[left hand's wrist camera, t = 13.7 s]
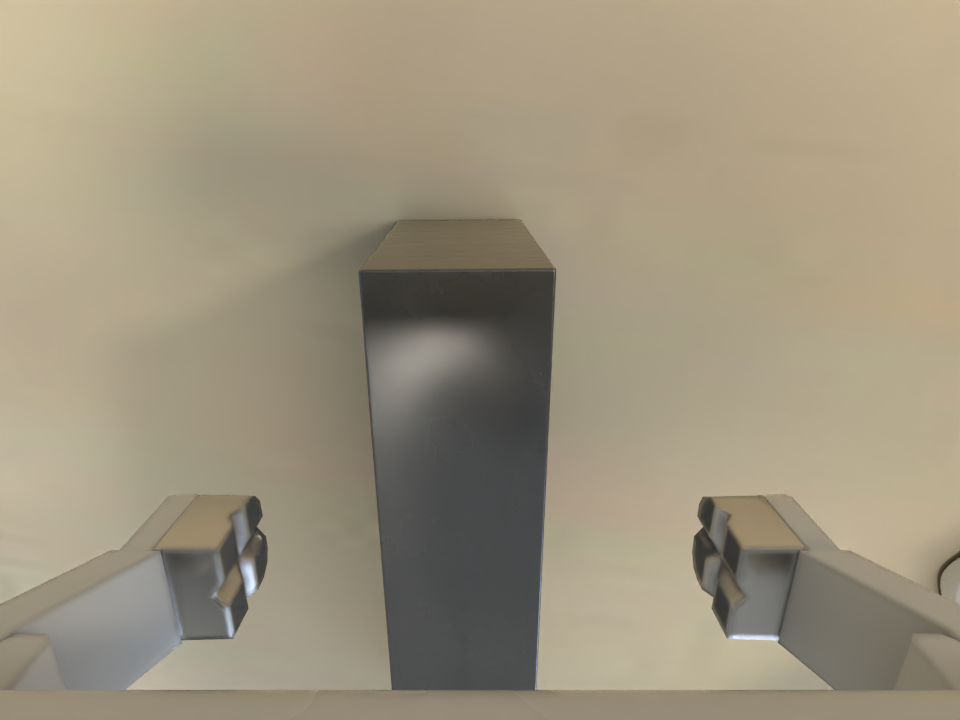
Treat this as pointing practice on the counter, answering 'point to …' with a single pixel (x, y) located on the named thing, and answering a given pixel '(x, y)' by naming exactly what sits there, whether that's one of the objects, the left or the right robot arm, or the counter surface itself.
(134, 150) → the counter surface
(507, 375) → the bar
